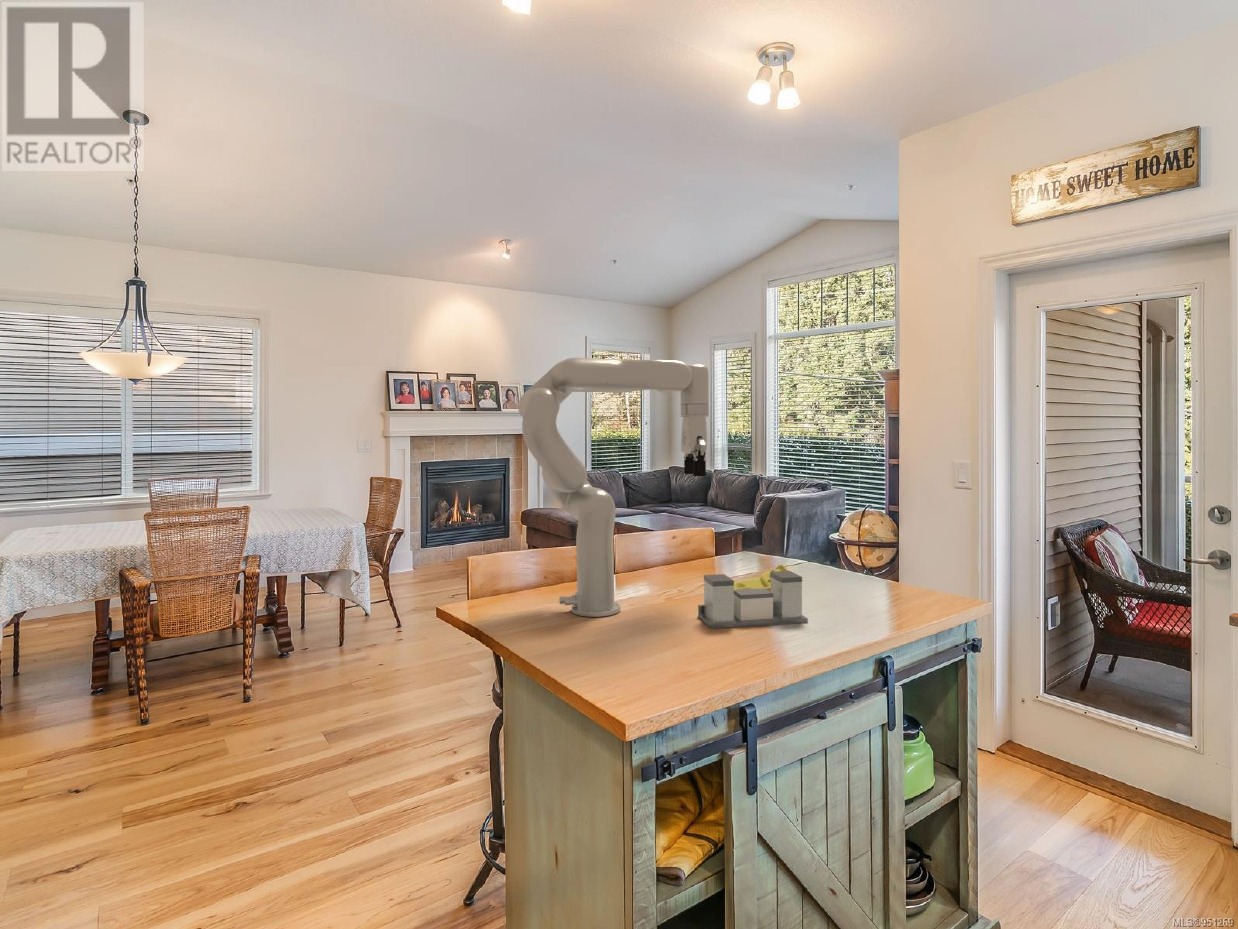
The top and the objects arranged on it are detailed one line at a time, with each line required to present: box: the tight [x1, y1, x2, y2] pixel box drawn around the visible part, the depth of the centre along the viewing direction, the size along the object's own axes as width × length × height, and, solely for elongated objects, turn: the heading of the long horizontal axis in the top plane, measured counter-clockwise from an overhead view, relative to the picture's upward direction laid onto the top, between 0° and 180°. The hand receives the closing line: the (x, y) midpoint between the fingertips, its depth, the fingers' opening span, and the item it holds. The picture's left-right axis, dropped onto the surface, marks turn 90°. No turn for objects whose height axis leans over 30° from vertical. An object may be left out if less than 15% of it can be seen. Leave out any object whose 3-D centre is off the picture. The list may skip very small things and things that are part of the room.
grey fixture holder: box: [697, 570, 809, 630], centre depth 160 cm, size 24×10×11 cm, turn 99°
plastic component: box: [734, 564, 790, 592], centre depth 185 cm, size 20×7×10 cm
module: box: [734, 588, 773, 621], centre depth 159 cm, size 8×5×6 cm, turn 100°
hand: (694, 475), depth 178 cm, fingers open, 9 cm apart
